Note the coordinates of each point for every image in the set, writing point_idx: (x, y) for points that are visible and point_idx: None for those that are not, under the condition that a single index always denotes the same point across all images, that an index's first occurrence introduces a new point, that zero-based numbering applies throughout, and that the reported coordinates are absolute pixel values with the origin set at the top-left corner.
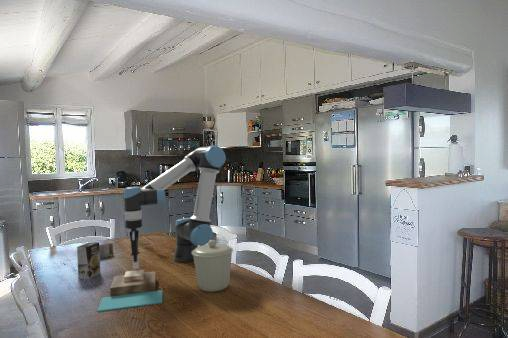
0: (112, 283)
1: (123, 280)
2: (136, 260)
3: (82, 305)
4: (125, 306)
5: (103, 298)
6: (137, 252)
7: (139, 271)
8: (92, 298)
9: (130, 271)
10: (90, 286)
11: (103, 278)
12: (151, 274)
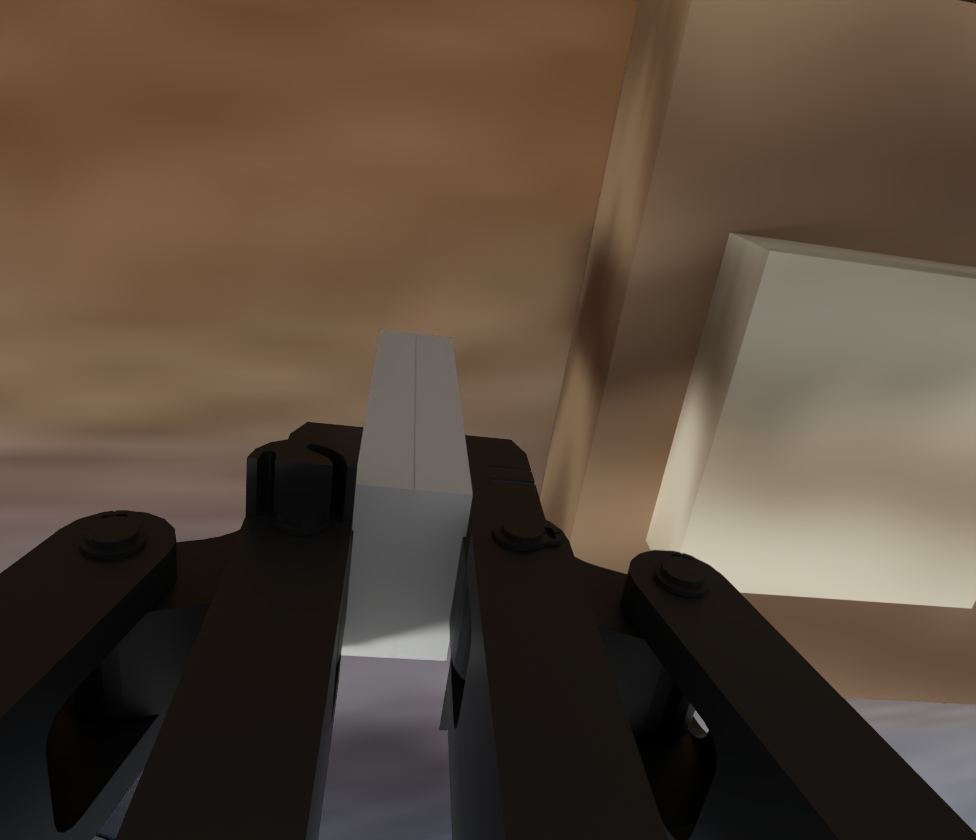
0: (877, 693)
1: None
2: (527, 467)
3: (960, 813)
4: None
5: None
6: (564, 574)
7: (840, 353)
8: None
9: (722, 514)
10: (444, 818)
11: None
12: (878, 81)
